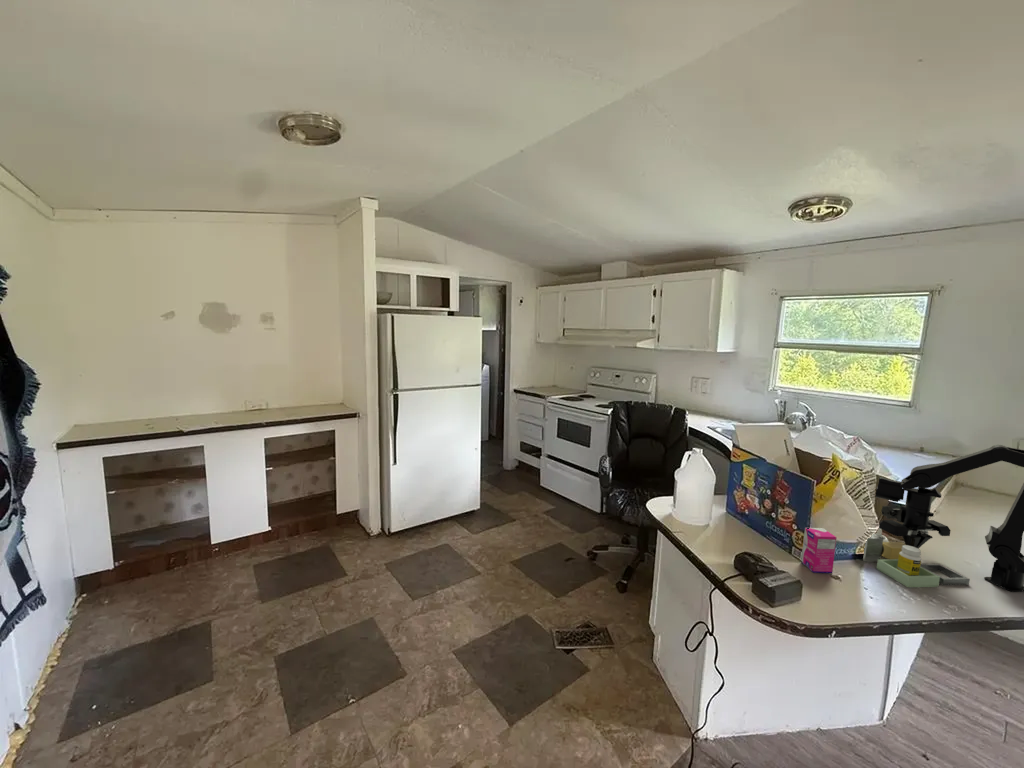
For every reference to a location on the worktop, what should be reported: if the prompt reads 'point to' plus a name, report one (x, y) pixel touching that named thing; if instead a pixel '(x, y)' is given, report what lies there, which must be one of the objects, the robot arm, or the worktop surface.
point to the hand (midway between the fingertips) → (910, 553)
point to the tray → (922, 580)
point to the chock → (892, 549)
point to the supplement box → (818, 550)
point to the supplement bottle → (909, 560)
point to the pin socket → (956, 577)
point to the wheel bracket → (873, 549)
